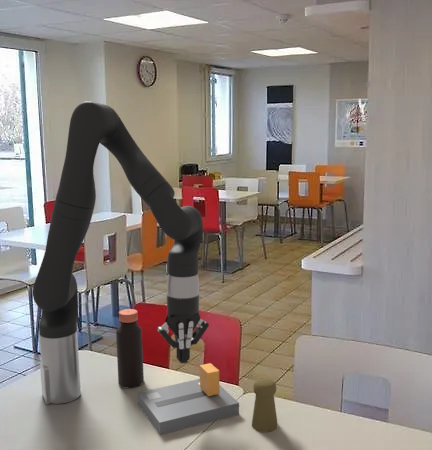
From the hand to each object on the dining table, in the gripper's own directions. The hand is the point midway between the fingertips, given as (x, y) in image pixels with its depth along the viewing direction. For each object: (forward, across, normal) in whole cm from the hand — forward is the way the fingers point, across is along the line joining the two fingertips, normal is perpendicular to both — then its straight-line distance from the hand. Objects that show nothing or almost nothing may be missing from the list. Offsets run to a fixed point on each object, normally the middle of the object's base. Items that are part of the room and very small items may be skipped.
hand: (183, 361), depth 136 cm
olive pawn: (+12, -14, +15) cm, 24 cm away
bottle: (+13, +7, -20) cm, 25 cm away
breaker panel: (+12, -1, 0) cm, 13 cm away
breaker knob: (+9, -7, 0) cm, 11 cm away
